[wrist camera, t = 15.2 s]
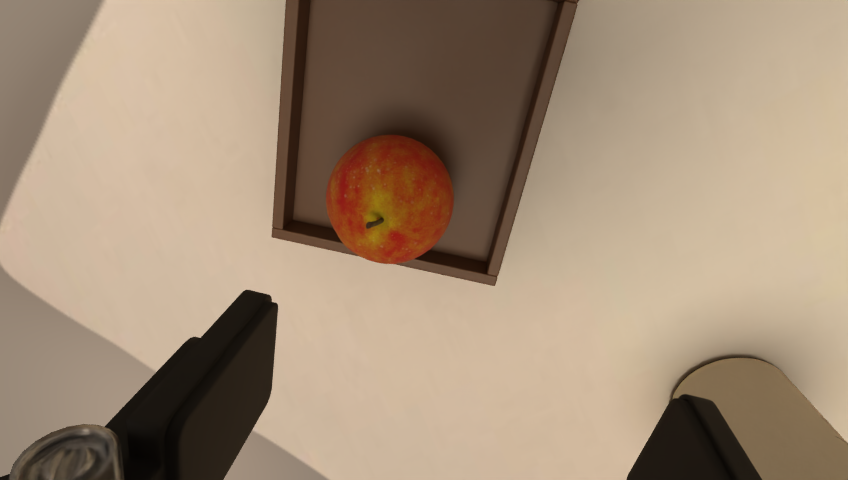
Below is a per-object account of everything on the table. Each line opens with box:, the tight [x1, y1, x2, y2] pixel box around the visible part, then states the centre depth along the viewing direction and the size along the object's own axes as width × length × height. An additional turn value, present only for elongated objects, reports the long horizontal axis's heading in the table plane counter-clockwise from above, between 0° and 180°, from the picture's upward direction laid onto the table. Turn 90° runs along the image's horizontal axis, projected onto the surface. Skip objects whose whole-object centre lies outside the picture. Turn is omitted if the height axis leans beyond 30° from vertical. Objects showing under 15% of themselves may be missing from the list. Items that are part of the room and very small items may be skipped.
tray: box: [272, 0, 579, 286], centre depth 27 cm, size 17×14×2 cm
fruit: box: [326, 135, 454, 264], centre depth 25 cm, size 7×7×8 cm
